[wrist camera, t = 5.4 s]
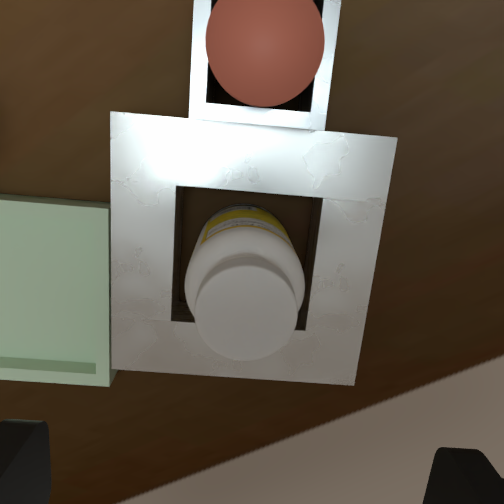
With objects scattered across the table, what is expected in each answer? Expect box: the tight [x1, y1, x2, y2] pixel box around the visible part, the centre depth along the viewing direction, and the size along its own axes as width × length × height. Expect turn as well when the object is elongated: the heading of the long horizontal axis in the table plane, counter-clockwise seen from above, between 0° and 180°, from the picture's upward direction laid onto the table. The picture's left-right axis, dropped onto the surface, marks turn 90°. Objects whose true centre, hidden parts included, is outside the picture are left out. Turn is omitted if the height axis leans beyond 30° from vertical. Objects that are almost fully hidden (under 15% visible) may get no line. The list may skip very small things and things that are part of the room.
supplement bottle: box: [185, 204, 305, 361], centre depth 21 cm, size 5×5×10 cm
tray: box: [0, 193, 118, 387], centre depth 25 cm, size 11×11×2 cm
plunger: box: [205, 0, 325, 107], centre depth 19 cm, size 5×5×6 cm
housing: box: [110, 0, 397, 385], centre depth 22 cm, size 14×20×5 cm
